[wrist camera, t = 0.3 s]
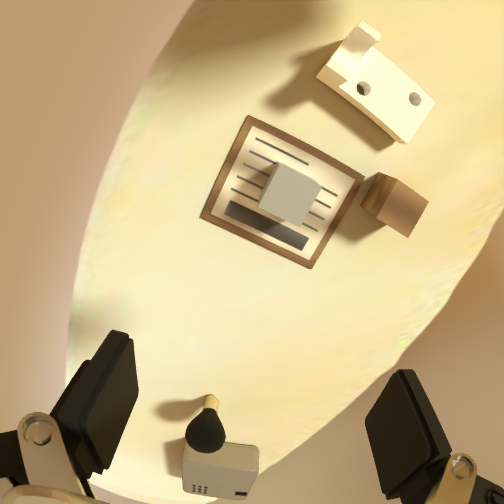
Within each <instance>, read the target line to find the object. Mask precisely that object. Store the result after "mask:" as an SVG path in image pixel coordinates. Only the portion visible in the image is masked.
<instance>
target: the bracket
mask: <svg viewBox="0 0 504 504" xmlns="http://www.w3.org/2000/svg"><path fill="white" fill-rule="evenodd" d="M381 36H382V35H381V34H380V33H378V32H377V31H376V30H374V29H373V28H372V27H370V26H369V25H368V24H366V23H365V22H363V21H362V20H361V21H360V23H359V24H358V25H357V26H356V27H355V28H354V29H353V30H352V31H351V33H350V34H349V35H348V36H347V37H346V38H345V39H344V41H343V42H342V43H341V44H340V46H339V47H338V48H337V50H336V51H335V52H334V53H333V55H332V56H331V57H330V59H329V60H328V61H327V63H326V64H325V65H324V67H323V68H322V69H321V70H320V72H319V73H318V74H317V76H316V78H318V79H319V80H320V81H322V82H323V83H325V84H326V85H328V86H329V87H330V88H332V89H333V90H335V91H336V92H337V93H339V94H340V95H341V96H343V97H344V98H345V99H347V100H348V101H349V102H350V103H352V104H353V105H354V106H356V107H357V108H358V109H359V110H361V111H362V112H363V113H364V114H366V115H367V116H368V117H369V118H370V119H372V120H373V121H374V122H375V123H376V124H378V125H379V126H380V127H381V128H382V129H383V130H384V131H386V132H387V133H388V134H389V135H390V136H391V137H392V138H393V139H395V140H396V141H397V142H398V143H402V144H408V143H409V141H410V140H411V138H412V137H413V135H414V134H415V132H416V131H417V129H418V128H419V126H420V125H421V123H422V122H423V120H424V119H425V117H426V116H427V114H428V113H429V111H430V110H431V108H432V107H433V105H434V103H435V102H434V101H433V100H432V99H431V98H430V97H429V96H428V95H427V94H426V93H425V92H424V91H423V90H422V89H421V88H420V87H419V86H418V85H417V84H416V83H415V82H414V81H412V80H411V79H410V78H409V77H408V76H407V75H406V74H405V73H404V72H403V71H401V70H400V69H399V68H398V67H397V66H396V65H394V64H393V63H392V62H391V61H390V60H389V59H387V58H386V57H385V56H384V55H382V54H381V53H380V52H379V51H377V50H376V49H375V48H374V47H372V46H373V45H374V44H375V43H376V42H377V41H378V40H379V39H380V38H381ZM357 85H360V86H361V87H362V88H363V89H364V95H361V94H359V93H358V91H357V89H356V86H357Z"/></svg>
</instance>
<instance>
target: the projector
mask: <svg viewBox="0 0 504 504" xmlns="http://www.w3.org/2000/svg"><path fill="white" fill-rule="evenodd" d="M181 464H182V482H183V490H184V491H185V492H187V493H192V494H198V495H204V496H210V497H217V498H224V499H232V500H244V499H246V497H247V495H248V493H249V491H250V489H251V487H252V485H253V483H254V481H255V479H256V477H257V475H258V472H259V449H258V448H257V447H256V446H248V445H240V444H232V443H225V442H224V444H223V446H222V447H221V449H219V450H218V451H216V452H214V453H209V454H207V453H200V452H197V451H195V450H194V449H192V448H191V447H190V446H189V445H188V443H187V441H186V444H185V449H184V453H183V457H182V462H181Z"/></svg>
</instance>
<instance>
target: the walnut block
mask: <svg viewBox="0 0 504 504" xmlns="http://www.w3.org/2000/svg"><path fill="white" fill-rule="evenodd" d="M427 204H428V201H427V200H426V199H424V198H423V197H422V196H420V195H419V194H418V193H416V192H415V191H413V190H412V189H411V188H409V187H408V186H406V185H405V184H404V183H402V182H401V181H399V180H398V179H395V178H393V177H390V176H388V175H385V174H383V173H380V172H379V173H378V175H377V177H376V179H375V180H374V182H373V184H372V186H371V188H370V189H369V191H368V193H367V195H366V197H365V198H364V200H363V202H362V204H361V206H362V207H363V208H364V209H366V210H367V211H368V212H369V213H370V214H372V215H373V216H374V217H375V218H377V219H378V220H380V221H382V222H383V223H385V224H386V225H388V226H390V227H391V228H393V229H394V230H396V231H398V232H399V233H401V234H402V235H404V236H406V237H407V238H408V237H409V235H410V234H411V232H412V230H413V229H414V227H415V225H416V224H417V222H418V220H419V218H420V217H421V215H422V213H423V211H424V209H425V208H426V206H427Z"/></svg>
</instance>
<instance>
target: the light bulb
mask: <svg viewBox="0 0 504 504" xmlns="http://www.w3.org/2000/svg"><path fill="white" fill-rule="evenodd" d="M218 405H219V400H218V398H217V397H216V396H213V395H209V396H206V397H205V401H204V405H203V410H202V412H201V413H200V414H199V415H198V416H196V417H195V418H194V419H193V420H192V421H191V422H190V423H189V425H188V426H187V429H186V433H185V438H186V441H187V443H188V445H189V446H190V447H191V448H192V449H194V450H195V451H197V452H200V453H207V454H209V453H214V452H216V451H218V450H219V449H221V447H222V446H223V444H224V442H225V438H226V435H225V431H224V428H223V425H222V423H221V421H220V419H219V417H218V415H217V411H218Z"/></svg>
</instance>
